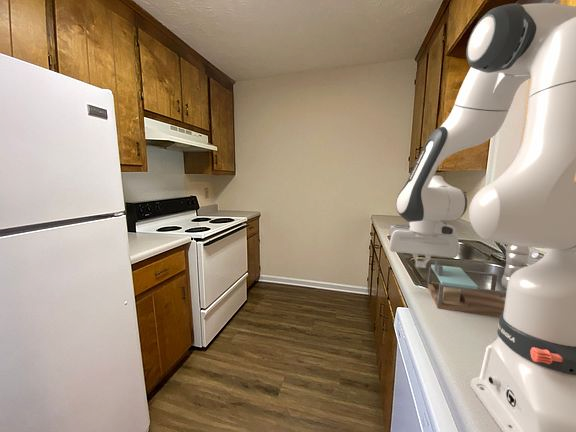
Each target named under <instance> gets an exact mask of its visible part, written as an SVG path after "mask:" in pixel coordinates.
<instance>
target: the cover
mask: <svg viewBox="0 0 576 432" xmlns="http://www.w3.org/2000/svg"><path fill="white" fill-rule="evenodd" d="M430 267H432V269H433V273H434V274H435V275H436V277H437V278H438V281H439V283H440V284H442V285H448V286H456V287H464V288H472V289H478V288H479V286H478V285H477V284H476V282H475V281H473V280H472V279H471V277H470V276H469V275H468V273H465V272H464V271H463V268H462V267H458V266H448V265H442V264H441V263H440V261H439V260H435V261H434V264H431V265H430Z"/></svg>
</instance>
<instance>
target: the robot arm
mask: <svg viewBox="0 0 576 432" xmlns="http://www.w3.org/2000/svg"><path fill="white" fill-rule="evenodd" d="M466 60H467V63H468V65H469V66H470V68H469V70H468V71H467V74H466V75H465V78H464V80H463V82H462V83H461V87H460V88H459V90H458V93H457V95H456V98H455V101H454V105H453V107H452V109H451V112H450V113H449V115H448V117H447V118H446V119H445V120H444V122H443V123H442V124H441V125H440V126H439V127H437V128H436V129H435V130H433V131H432V132H431V134H430V135H429V136H428V138H427V140H426V141H425V142H424V143H425V144H424V145H423V147H422V150H421V151H420V153H419V155H418V158H417V160H416V162H415V164H414V166H413V168H412V170H411V172H410V174H409V177H408V179H407V181H406V182H405V184H404V186H403V187H402V188H401V190H400V191H399V193H398V195H397V197H396V201H395V208H396V209H395V210H396V212H397V214H399V216H400V217H401V218H403V219H404V220H405V221H406V222H408V223H409V224H399V223H395V224H394V225H391V226H390V227H389V230H388V231H389V232H388V233H389V236H390V239H389V243H388V249H389V250H390V251H391V252H393V253H401V254H410V255H411V254H412V257H413V260H414V261H415V264H414V265H415V268H420V269H421V268H422V269H426V268H427V264H428V262H429V261H430V260H431V258H432V257H433V256H435V257H445V258H457V257H458V256H459V254H460V253H459V251H460V243H459V238H458V236H456V235H457V233H458V230H457V228H456V227H454V226H453V225H451V224H449V223H446V222H442V221H455V220H459V219H460V218H462V217H463V216H464V214H465V213H466V211H467V208H468V197H467V195H466V193H465V192H464V190H462V189H461V188H459V187H455V186H452V185H450V184H449V183H447V182H446V181H445V180H444V178H443V176H442V175H439V174H436V173H437V170H438V168H439V167H440V165H441V163H442V162H443V161H444V160H446V159H447V158H448V157H450V156H451V155H454V154H456V153H458V152H460V151H464V150H467V149H471V148H473V147H477V146H479V145H482V144H484V143H486V142H488V141H489V140H490V139H492V138H494V137H495V136H496V135H497V133H498V132H499V130H500V129H501V128H502V126H503V124H504V122H505V120H506V118H507V116H508V113H509V110H510V109H511V105H512V103H513V101H514V98H515V95H516V93H517V91H518V89H519V88H520V86H521V85H523V83H525V82H526V81H528V80H530V84H529V90H528V91H529V92H528V100H527V109H526V110H527V111H526V118H525V119H526V120H525V125H524V131H523V136H522V141H521V143H520V144H521V145H520V148H519V150H518V152H517V154H516V156H515V157H514V160H512V162H511V163H510V165H509V166H508V167H507V168H506V170H505V171H504V172H503V173H501V174H500V176H498V177H497V178H496V179H494V180H493V181H490V183H488V184H486V185H485V186H483V187H482V188H481V189H479V190H478V191H477V192H476V193H475V195H474V197H473V198H472V200H471V201H470V203H469V208H468V218H469V223H470V225H471V227H472V229H473V231H474V232H475V233H476V234H477V235H478V236H479V237H480V238H481V239H483V240H487V241H491V242H494V243H499V244H501V245H506V246H507V245H511V246H519V247H528V248H534V249H535V248H537V249H548V251H547V252H546V253H545V254H544V255H543V257H542V258H540V259H539V260H538V261H536V262H534V263H533V264H532V263H531V264H530V265H527V266H526V265H525V267H524V268H521V269H519V270H517V271H515V272H514V273H513V274H512V275H511V277H510V278H509V280H508V285H507V288H506V291H505V292H506V295H505V300H504V301H505V305H504V312H503V313H502V314H501V315H500V318H498V321H497V337H496V339H494V341H493V342H492V343H490V344H488V346H486V349H485V353H484V356H483V359H482V360H483V361H482V365H481V369H480V373H479V376H476V377H473V378H471V379H470V380H471V381H470V384H469V385H470V388H471V389H472V390H473V391H474V393H475V395H477V397H478V398H479V400H480V402H481V403H482V404H483V405H484V407H485V408H486V410H487V411H488V413H489V414H490V415H491V417H492V418H493V420H494V421H495V422H496V423H497V425H498V426H499V428H500V429H501V431H502V432H576V181H575V177H576V6H575V5H567V4H558V3H556V2H555V3H554V2H539V3H536V2H535V3H526V4H525V3H524V4H520V3H517V2H516V3H508V4H503V5H500V6H497V7H494V8H492V9H490V10H489V11H487V12H486V13H484V15H483V16H481V18H480V19H479V20H478V21H477V23H476V25H475V26H474V27H473V29H472V31H471V33H470V35H469V38H468V40H467V46H466ZM419 255H424V257H425V258H424V260H423V261H422V260H418V259H417V258H418V257H419Z"/></svg>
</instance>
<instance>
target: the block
mask: <svg viewBox="0 0 576 432" xmlns="http://www.w3.org/2000/svg"><path fill="white" fill-rule="evenodd" d="M460 292H461V289H455V288H447V287H444V290H443V299H442V300H443V301H448V302H455V303H459V301H460Z"/></svg>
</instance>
